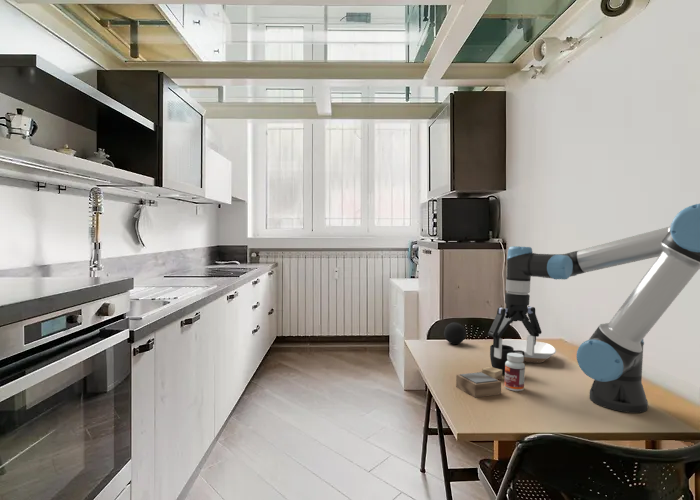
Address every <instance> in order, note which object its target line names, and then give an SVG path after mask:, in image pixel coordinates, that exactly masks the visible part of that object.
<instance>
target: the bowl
mask: <svg viewBox="0 0 700 500" xmlns="http://www.w3.org/2000/svg"><path fill="white" fill-rule="evenodd" d="M502 345H507V346H511V347H513V349H514V350H521V351H524V353H525V355H524V361H523V362H525V361H526V362H525V363H535V362H537V364H538V363H539V364H541V363H543V362H545V361H546V360H547V359H550V358H551V357H552V356H554V355H555V354H556V353H557V349H556V348H555V347H554V346H553V345H552V344H550V343H547V342H543V341H536V344H535V345H534V356H531V355H528V354H526V348H527V339H512V338H504V339H502ZM515 353H519V354H522V352H515Z"/></svg>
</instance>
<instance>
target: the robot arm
mask: <svg viewBox="0 0 700 500" xmlns="http://www.w3.org/2000/svg"><path fill="white" fill-rule="evenodd" d="M654 258H656V260H655V261H653V263H652V264H651V266H650V268H648V270H647V271H646V273H645V274H644V276H643V277H642V278H641V279H640V281H639V282H638V284H637V285H636V286H635V287H634V289H633V290H632V291H631V292H630V294H629V296H628V297H627V298H626V299H625V301H624V302H623V303H622V305H621V306H620V307H619V309H618V310H617V311H616V313H615V314H614V315H613V317H612V318H611V319H610V321H609V322H605V323H600V324H599V325H598V326H597V328H596V329H595V331H594V332H593V333H592V335H590V337H589V338H588V339H587V340H585V341H583V342H582V343H581V344H580V345H579V346H578V349H577V351H576V361H577V364H578V367H579V368H580V370H581V371H582V372H583V373H584V374H585V375H586V376H588V377H589V378H590V379H593V382H592V384H591V387H590V389H589V395H588V396H589V400H590V401H591V402H593V403H595V404H596V405H598V406H601V407H604V408H606V409H610V410H614V411H617V412H623V413H635V414H636V413H639V414H640V413H644V412H646V411H648V406H649V405H648V404H649V403H648V399H647V396H646V393H645V389H644V386H643V383H642V381H643V380H642V378H643V362H644V361H643V358H644V345H645V341H644V338H645V337H646V336H647V335H648V333H650V331H651V330H652V328H653V327H654V326H655V325H656V324H657V322H658V321H659V320H660V319H661V317H662V316H663V314H664V313H665V312H666V311H667V310H668V308H669V307H670V306H671V304H673V302H674V301H675V300H676V298H677V297H678V296H679V295H680V293H681V292H682V291H683V290H684V289H685V287H686V286H687V285H688V284H689V283H690V281H691V280H692V279H693V277H694V276H695V275H696V274H697V272H698V271H699V270H700V203H695V204H692V205H689V206H687V207H684V208H683V209H681V210H680V211H678V212H677V214H676V215H675V216H674V218H673V219H672V222H671V223H670V225H669V226H666V227H664V228H663V227H662V228H658V229H656V230H650V231H647V232H644V233H640V234H637V235H632V236H629V237H625V238H620V239H616V240H613V241H609V242H605V243H601V244H598V245H594V246H591V247H586V248H583V249H578V250H575V251H572V252H571V251H570V252H567V253H558V254H557V253H555V254H554V253H550V254H549V253H547V254H546V253H536V252H533V248H532V247H531V246H514V245H512V246H509V247H508V249H507V257H506V277H505V278H506V279H505V291H506V293H504V303H505V308H504V307H500V306H498V307H497V310H496V315H495V317H494V320H493V322H492V324H491V326H490V328H489V331H488V332H487V335H488V336H490V337H492V338H493V339H492V345H493V347H494V357H496V358H499V359H501V356H502V340H503V338H501V337H502V336H503V335H504V333H505V332H506V330H507V329H508V327H509V326H510V325H511V324H512V323H513V322H518V321H519V322H521V323H522V324H523V326H524V328H525V330H526V331H527V333H528V334H526V335H527V336H526V340H527V348H526V354H528V355H531V356H534V345H535V344H536V342H537V337H539V336H540V335H541V334H542V329H541V327H540V326H541V325H540V322H539V320H538V317H537V314H536V307H534V306H531V305H530V298H531V297H530V294H529V293H530V292H531V277H538V278H543V279H553V280H568V279H569V278H570V277H575V276H577V275H581V274H584V273H589V272H594V271H598V270H603V269H608V268H613V267H618V266H622V265H625V264H630V263H635V262H640V261H643V260H649V259H654ZM529 305H530V306H529Z"/></svg>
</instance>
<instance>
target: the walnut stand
mask: <svg viewBox="0 0 700 500" xmlns="http://www.w3.org/2000/svg"><path fill="white" fill-rule="evenodd" d="M455 386H456V388H457V389H459V390H461V391H463V392H465V393H466V394H468V395H469V396H472V397H474V398H482V397H488V396H497V395H501V394H502V381H501V380H500V379H499V380H497V379H495V378H493V377H491V376H488V375H486V374H484V373H482V371H479V372H471V373H470V372H469V373H462V374H461V373H460V374H456V381H455Z"/></svg>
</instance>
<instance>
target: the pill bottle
mask: <svg viewBox="0 0 700 500" xmlns="http://www.w3.org/2000/svg"><path fill="white" fill-rule="evenodd" d="M507 360H508V361H506V363H505V375H504V385H503V386H504V388H505V389H507V390H509V391H513V392H521V391H524V389H525V372H526V365H525V361H524V355H522V354H519V353H508V354H507Z"/></svg>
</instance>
